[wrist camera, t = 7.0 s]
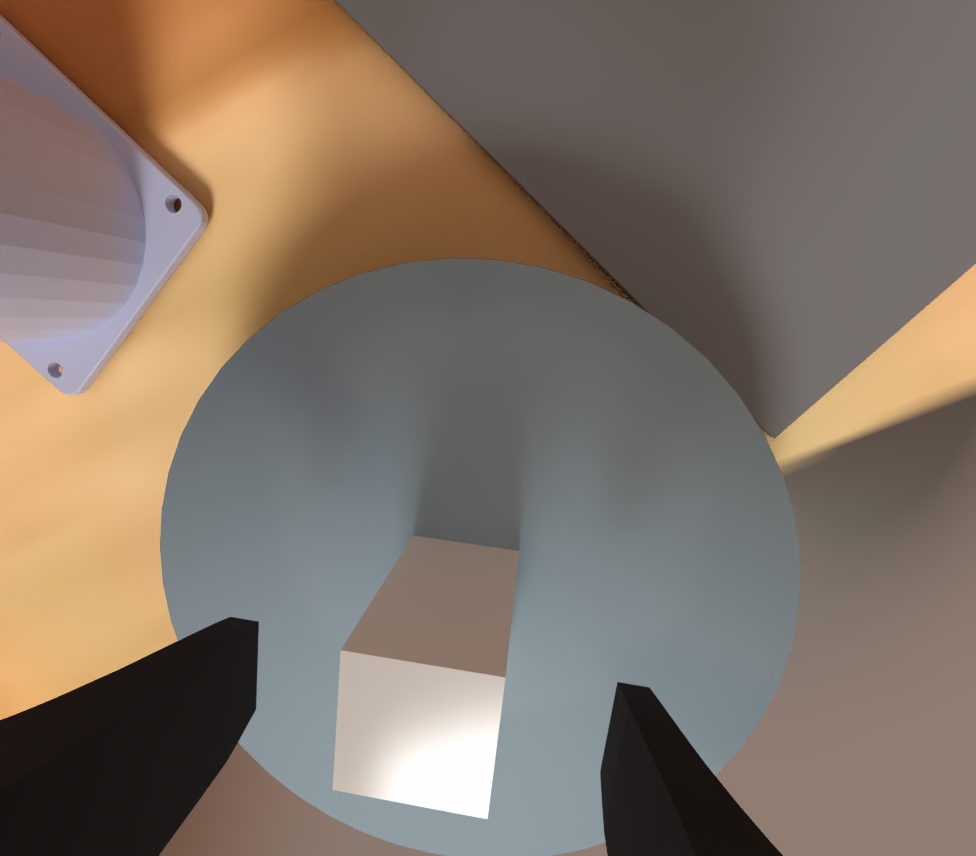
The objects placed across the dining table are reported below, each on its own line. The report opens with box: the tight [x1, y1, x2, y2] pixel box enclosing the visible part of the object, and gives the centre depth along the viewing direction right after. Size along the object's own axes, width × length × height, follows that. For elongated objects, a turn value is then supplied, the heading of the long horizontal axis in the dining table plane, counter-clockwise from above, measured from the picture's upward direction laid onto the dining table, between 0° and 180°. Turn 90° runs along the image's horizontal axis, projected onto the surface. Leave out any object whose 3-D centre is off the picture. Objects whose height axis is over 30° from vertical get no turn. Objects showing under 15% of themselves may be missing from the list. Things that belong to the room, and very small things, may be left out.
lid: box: [160, 258, 801, 856], centre depth 12 cm, size 17×17×6 cm
